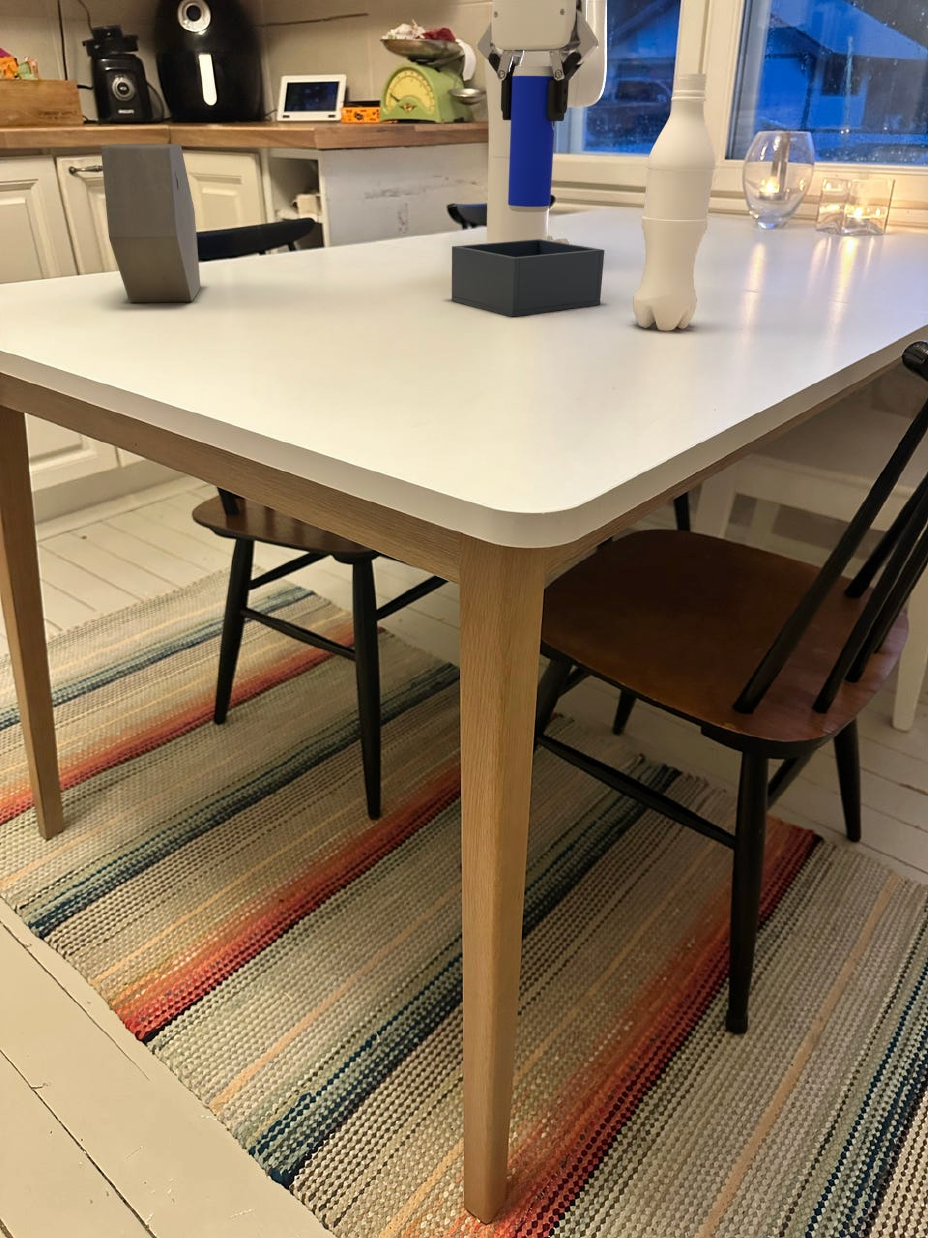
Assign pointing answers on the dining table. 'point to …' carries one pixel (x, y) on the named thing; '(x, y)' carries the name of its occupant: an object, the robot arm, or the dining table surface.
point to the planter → (151, 221)
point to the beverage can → (530, 140)
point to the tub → (526, 276)
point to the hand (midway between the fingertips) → (533, 118)
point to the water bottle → (675, 210)
